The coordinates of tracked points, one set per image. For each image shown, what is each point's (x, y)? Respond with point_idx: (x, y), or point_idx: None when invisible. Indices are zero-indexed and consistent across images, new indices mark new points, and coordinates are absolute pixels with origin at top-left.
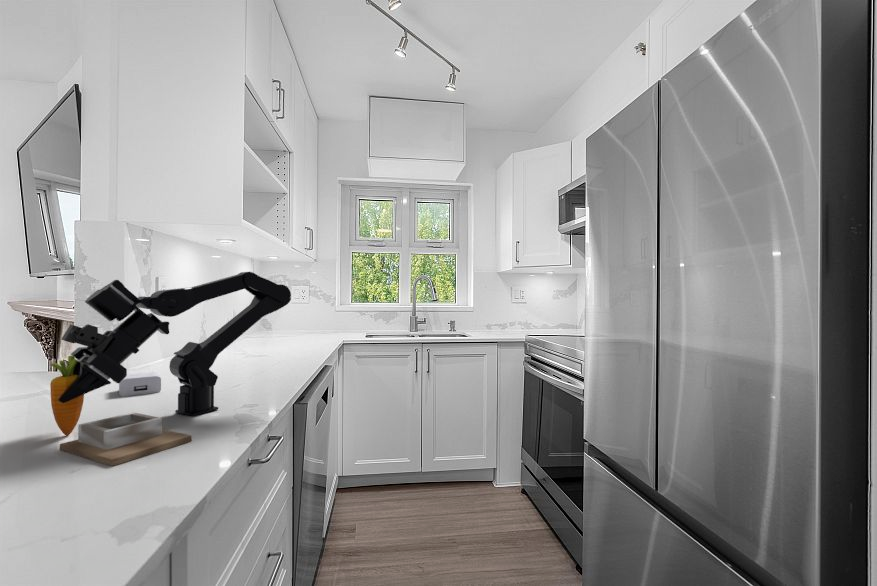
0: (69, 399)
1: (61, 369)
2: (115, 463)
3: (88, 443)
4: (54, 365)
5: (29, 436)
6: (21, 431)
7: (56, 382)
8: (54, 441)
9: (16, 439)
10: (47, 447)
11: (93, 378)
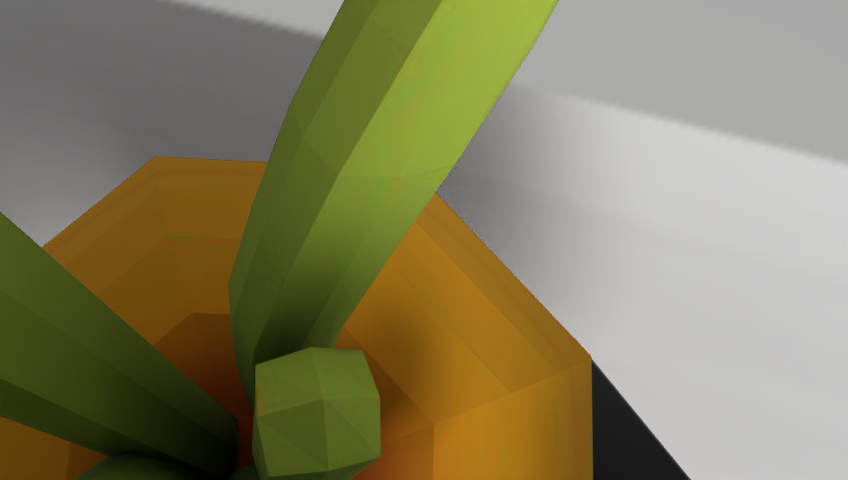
0: None
1: (229, 295)
2: None
3: None
4: (342, 12)
5: (587, 235)
6: (830, 247)
7: (118, 187)
8: None
9: (572, 150)
10: (70, 213)
11: None
